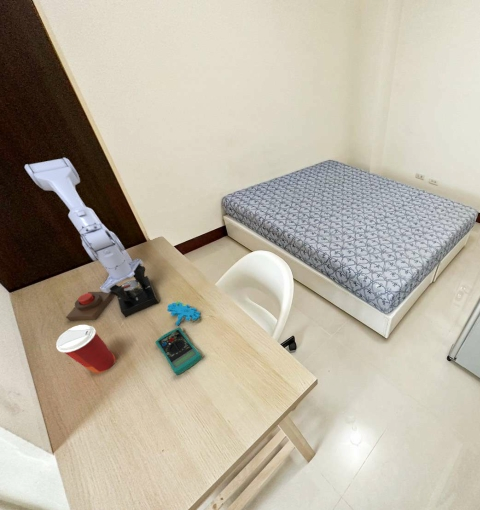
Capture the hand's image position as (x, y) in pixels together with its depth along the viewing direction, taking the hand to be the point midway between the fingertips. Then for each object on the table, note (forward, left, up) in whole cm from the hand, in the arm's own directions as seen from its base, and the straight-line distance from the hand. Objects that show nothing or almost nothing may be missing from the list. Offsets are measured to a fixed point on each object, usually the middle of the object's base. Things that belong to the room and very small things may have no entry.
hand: (134, 291), depth 92 cm
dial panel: (0, 0, -3) cm, 3 cm away
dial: (0, 0, 0) cm, 0 cm away
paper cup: (+25, -4, -3) cm, 26 cm away
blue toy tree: (+15, +17, -3) cm, 23 cm away
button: (0, -14, 0) cm, 13 cm away
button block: (0, -13, -3) cm, 14 cm away
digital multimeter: (+28, +16, -3) cm, 32 cm away
